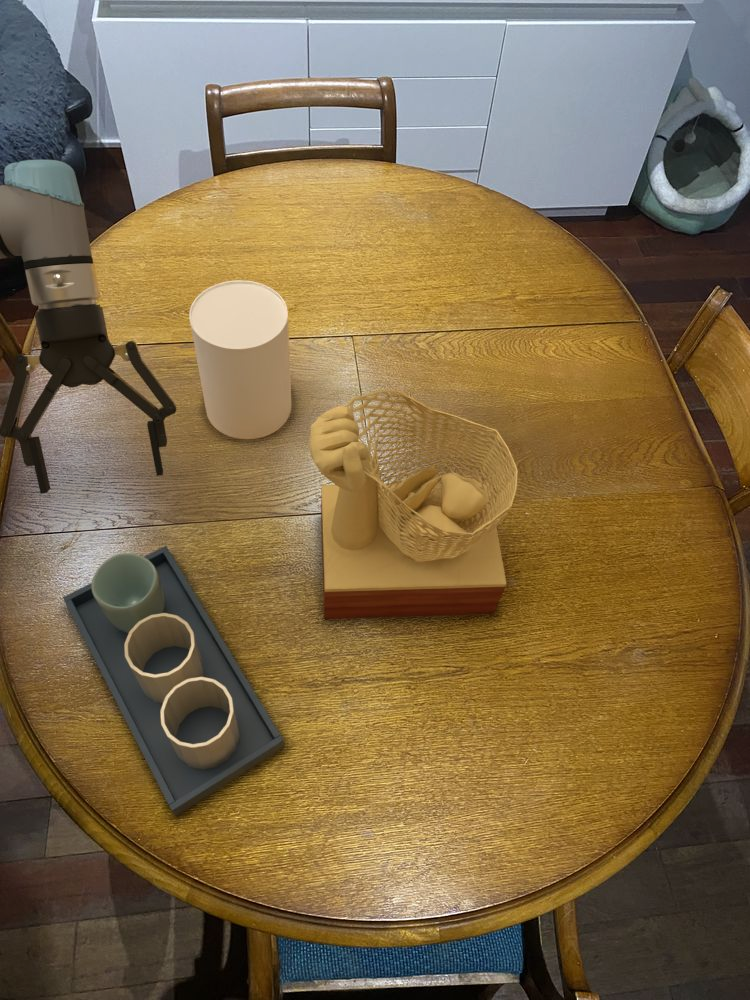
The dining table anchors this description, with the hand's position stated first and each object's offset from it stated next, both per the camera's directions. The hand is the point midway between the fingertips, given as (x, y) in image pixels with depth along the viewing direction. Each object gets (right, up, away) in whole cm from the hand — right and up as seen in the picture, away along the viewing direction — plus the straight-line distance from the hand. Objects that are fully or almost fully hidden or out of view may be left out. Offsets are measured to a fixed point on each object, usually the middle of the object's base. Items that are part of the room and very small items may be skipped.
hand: (103, 482), depth 97 cm
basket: (+37, -11, +15) cm, 41 cm away
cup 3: (+13, -31, 0) cm, 34 cm away
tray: (+7, -25, +4) cm, 26 cm away
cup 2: (+7, -25, +4) cm, 26 cm away
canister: (+13, +13, +29) cm, 34 cm away
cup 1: (+2, -18, +7) cm, 19 cm away
